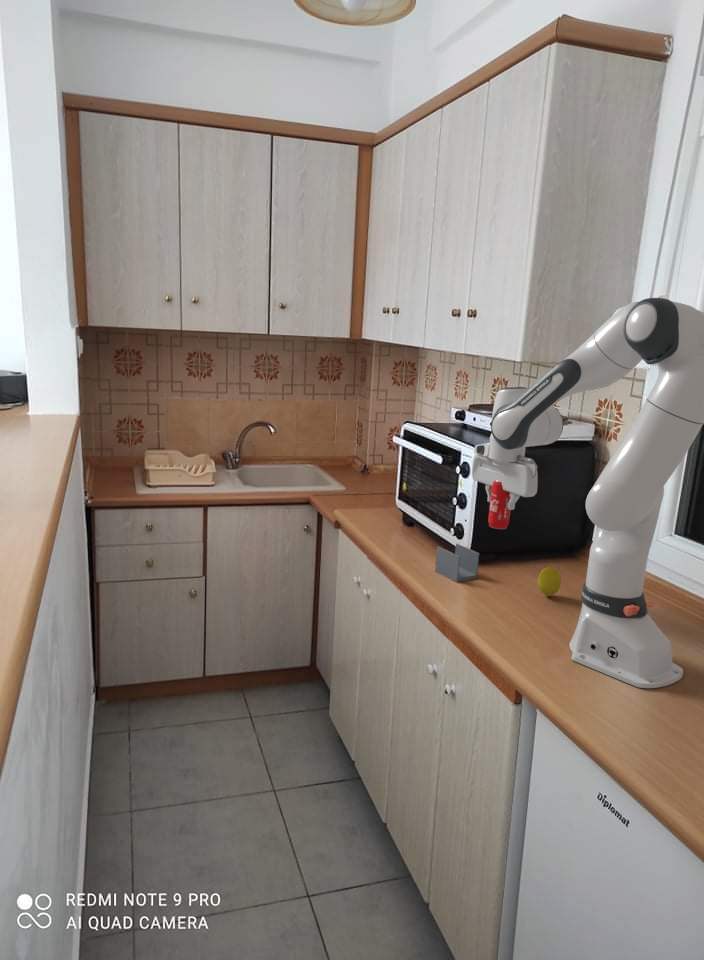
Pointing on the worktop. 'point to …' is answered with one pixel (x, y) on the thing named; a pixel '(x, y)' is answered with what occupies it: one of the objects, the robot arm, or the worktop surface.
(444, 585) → the worktop surface
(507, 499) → the beverage can
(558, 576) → the lemon
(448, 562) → the bracket
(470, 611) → the worktop surface
